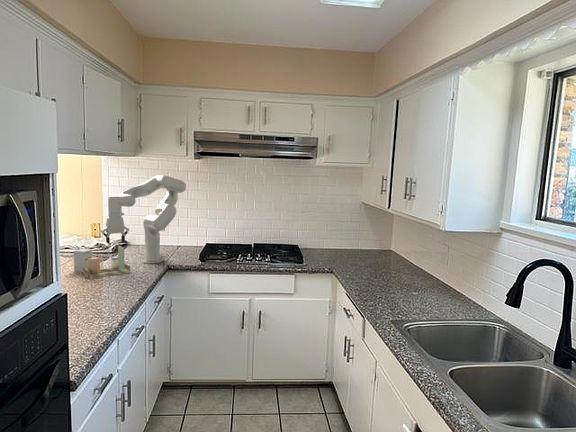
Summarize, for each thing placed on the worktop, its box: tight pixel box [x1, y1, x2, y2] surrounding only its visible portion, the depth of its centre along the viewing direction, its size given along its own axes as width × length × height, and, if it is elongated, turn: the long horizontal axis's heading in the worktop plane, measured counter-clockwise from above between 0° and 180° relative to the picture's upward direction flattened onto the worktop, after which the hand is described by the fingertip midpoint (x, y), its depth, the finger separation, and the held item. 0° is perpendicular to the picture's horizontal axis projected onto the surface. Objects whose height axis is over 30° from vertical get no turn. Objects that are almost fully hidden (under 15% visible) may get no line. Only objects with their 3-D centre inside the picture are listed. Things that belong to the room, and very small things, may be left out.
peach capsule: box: [88, 256, 101, 275], centre depth 238 cm, size 6×6×10 cm
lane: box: [82, 261, 131, 279], centre depth 243 cm, size 24×11×4 cm, turn 130°
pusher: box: [117, 245, 127, 271], centre depth 249 cm, size 3×8×15 cm, turn 40°
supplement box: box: [73, 248, 93, 273], centre depth 247 cm, size 7×7×13 cm
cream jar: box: [110, 255, 118, 268], centre depth 256 cm, size 6×6×7 cm
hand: (115, 242), depth 254 cm, fingers open, 8 cm apart
